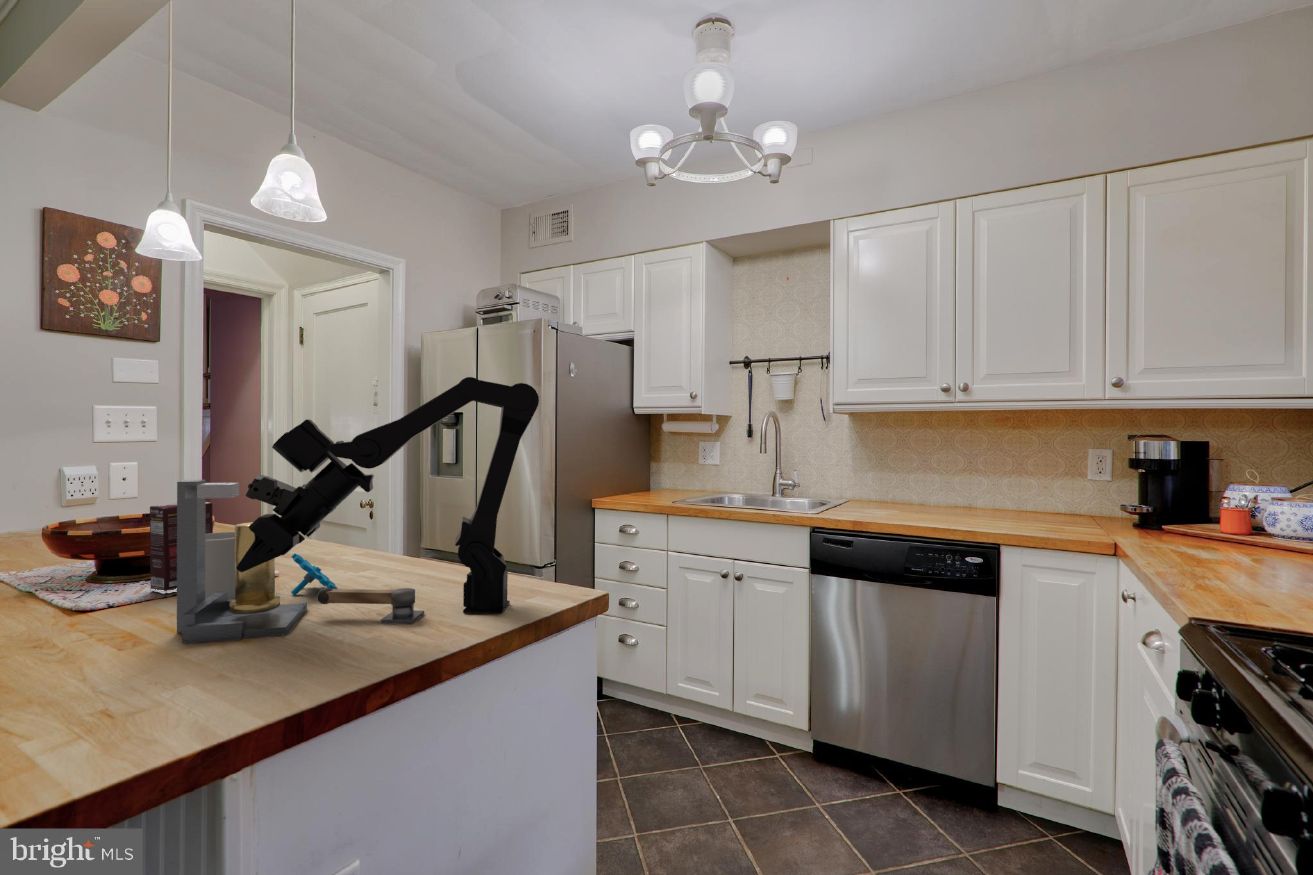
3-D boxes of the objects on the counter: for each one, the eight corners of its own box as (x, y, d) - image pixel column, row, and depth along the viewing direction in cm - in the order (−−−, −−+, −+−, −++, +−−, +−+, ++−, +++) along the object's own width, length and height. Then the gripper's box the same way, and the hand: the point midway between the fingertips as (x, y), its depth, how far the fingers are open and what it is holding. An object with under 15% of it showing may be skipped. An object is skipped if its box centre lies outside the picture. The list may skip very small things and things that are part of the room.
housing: (290, 604, 99) (289, 522, 98) (251, 616, 92) (251, 529, 92) (258, 600, 101) (258, 520, 100) (218, 611, 94) (218, 526, 94)
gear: (340, 588, 112) (295, 551, 110) (313, 615, 110) (267, 578, 107) (340, 582, 122) (300, 548, 120) (316, 607, 120) (274, 573, 117)
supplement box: (198, 581, 122) (198, 500, 121) (214, 584, 120) (214, 502, 119) (147, 592, 114) (148, 505, 113) (163, 595, 112) (164, 507, 111)
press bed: (307, 609, 105) (308, 476, 105) (284, 636, 92) (285, 484, 91) (200, 615, 100) (200, 476, 100) (159, 645, 87) (160, 485, 87)
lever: (418, 602, 102) (418, 586, 102) (409, 608, 99) (410, 592, 99) (323, 600, 102) (324, 584, 102) (311, 606, 99) (312, 590, 99)
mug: (191, 606, 106) (191, 541, 105) (188, 595, 112) (189, 534, 112) (273, 595, 113) (273, 535, 113) (266, 585, 120) (267, 528, 120)
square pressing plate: (424, 614, 103) (424, 601, 103) (412, 623, 98) (412, 609, 98) (394, 613, 103) (394, 600, 103) (380, 623, 98) (380, 609, 98)
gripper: (298, 454, 106) (224, 521, 103) (265, 461, 88) (173, 542, 85) (349, 499, 109) (278, 565, 106) (327, 514, 91) (240, 595, 88)
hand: (245, 566), depth 96 cm, fingers closed on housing, 5 cm apart
